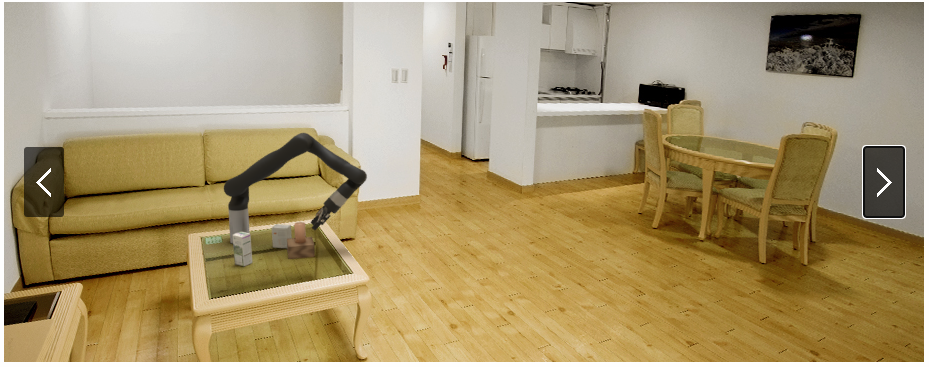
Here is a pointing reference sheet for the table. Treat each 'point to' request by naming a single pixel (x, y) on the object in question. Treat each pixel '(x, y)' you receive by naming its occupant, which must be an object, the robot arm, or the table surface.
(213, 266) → the table surface
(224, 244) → the table surface
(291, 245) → the walnut block
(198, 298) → the table surface
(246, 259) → the syrup box
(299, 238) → the terracotta cylinder
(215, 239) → the table surface
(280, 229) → the small box
